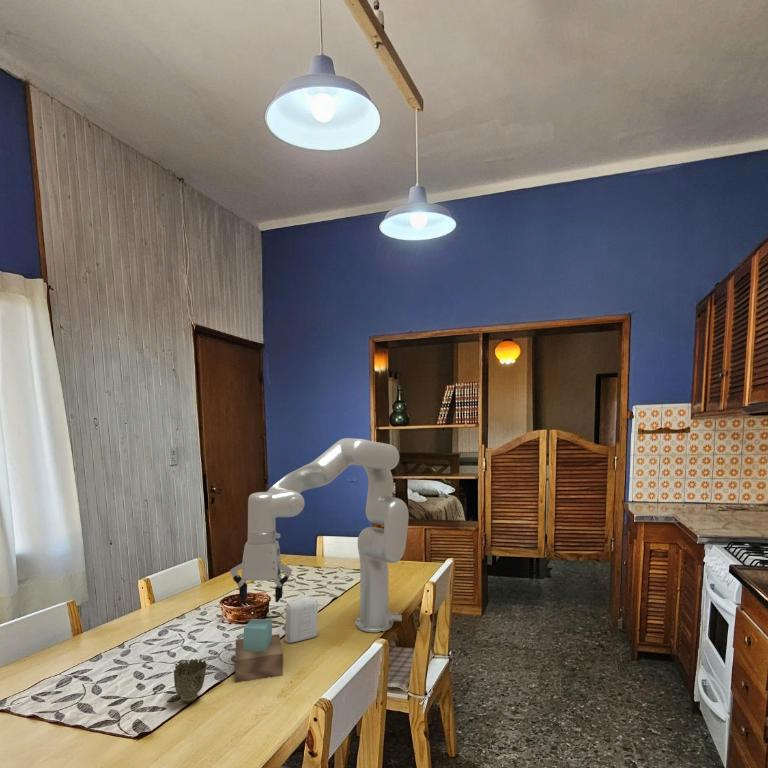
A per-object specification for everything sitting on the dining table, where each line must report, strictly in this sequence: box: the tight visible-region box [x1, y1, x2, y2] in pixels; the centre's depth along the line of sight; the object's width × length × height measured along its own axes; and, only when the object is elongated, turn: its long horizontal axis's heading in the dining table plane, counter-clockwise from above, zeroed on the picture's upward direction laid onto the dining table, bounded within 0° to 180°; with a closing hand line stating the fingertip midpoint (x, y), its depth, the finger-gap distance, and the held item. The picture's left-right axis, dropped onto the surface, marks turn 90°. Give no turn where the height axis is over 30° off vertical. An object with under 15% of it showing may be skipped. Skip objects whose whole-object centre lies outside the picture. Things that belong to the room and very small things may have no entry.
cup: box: [173, 658, 208, 704], centre depth 115 cm, size 8×7×8 cm
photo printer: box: [284, 595, 319, 644], centre depth 148 cm, size 10×4×12 cm, turn 123°
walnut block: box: [234, 634, 284, 684], centre depth 130 cm, size 12×12×6 cm
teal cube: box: [243, 618, 273, 652], centre depth 131 cm, size 6×6×6 cm
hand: (260, 600), depth 132 cm, fingers open, 9 cm apart
